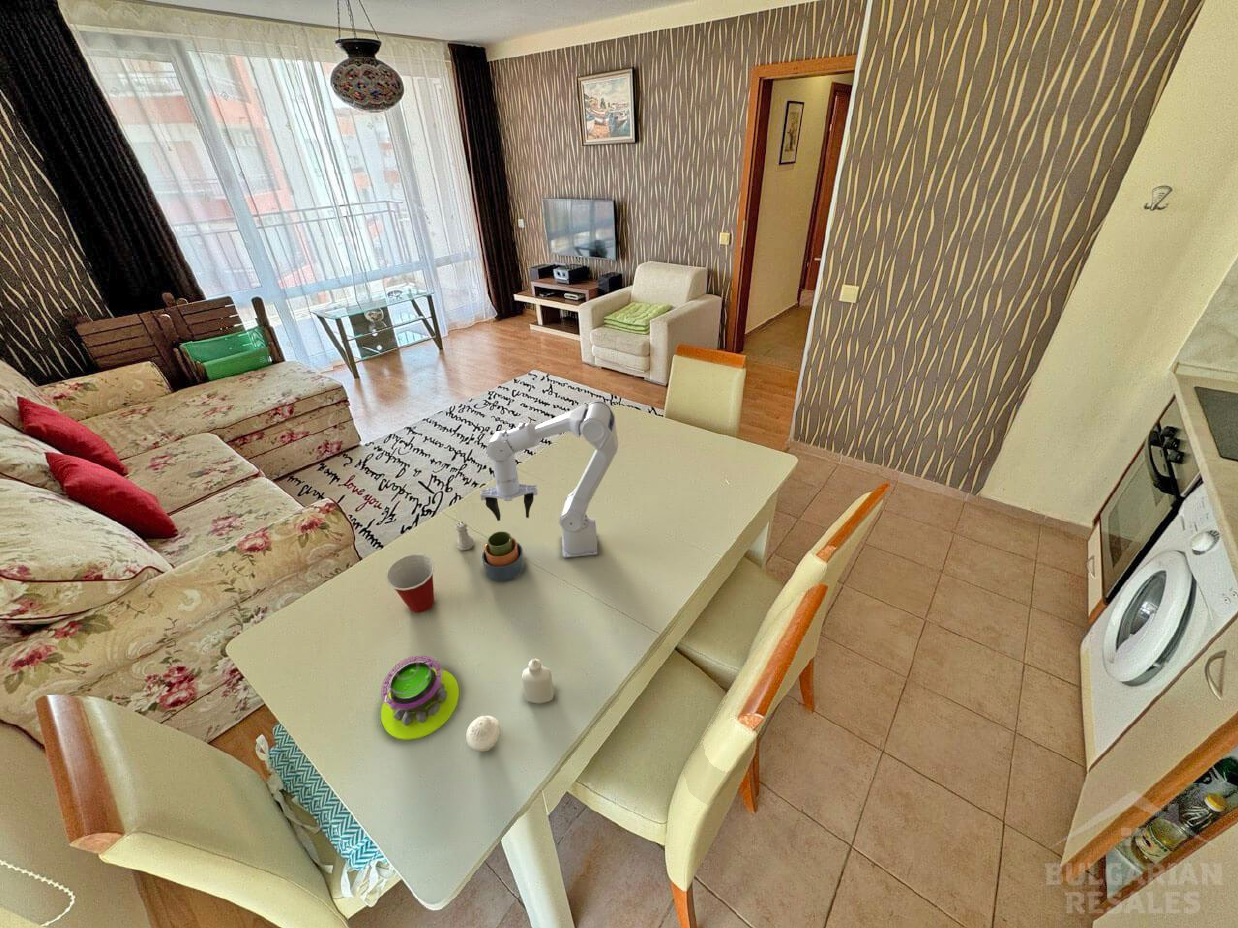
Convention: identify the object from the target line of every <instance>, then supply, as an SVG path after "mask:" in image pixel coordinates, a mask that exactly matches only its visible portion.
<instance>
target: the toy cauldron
mask: <svg viewBox="0 0 1238 928" xmlns="http://www.w3.org/2000/svg"><path fill="white" fill-rule="evenodd" d="M390 680H391V682H390ZM388 688H389V689H388ZM380 689H382V692H380V697H381V699H382V700H381V701H383V702H382V703H383V704H382V706H381V711H380V719H381V724H382V726H383V729H384V730H385V731H386V732H387V734H389V735H390V736H391V737H393V738H396V739H398V740H403V741H409V740H418V739H421V738H425V737H426V736H429V735H430V734H433V733H434V732H435V731H437V730H438V729H440V728H441V727H442V726H443V725H444V724H445V723H446V722H447V721H448V720H449V719H450V718H451V716H452V715H453V713H454V711H455V710H456V707H457V705H458V703H459V699H460V698H459V697H460V688H459V684H458V682H457V680H456V678H455V677H454V675H452V673H450V672H449V671H447V670H445V669H443V667H442V664H441V663H440V662H439V660H437V659H436V658H434V657H432V656H428V655H425V654H424V655H422V654H420V655H415V656H410V657H406V658H404V659H402V660H401V661H399V662H398V663H396V664H395V665H394V666H393V667H392V669H391V670H390V672H388V673H387V674H386V676H385V677H384V679H383V681H382V683H381V687H380Z"/></svg>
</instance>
